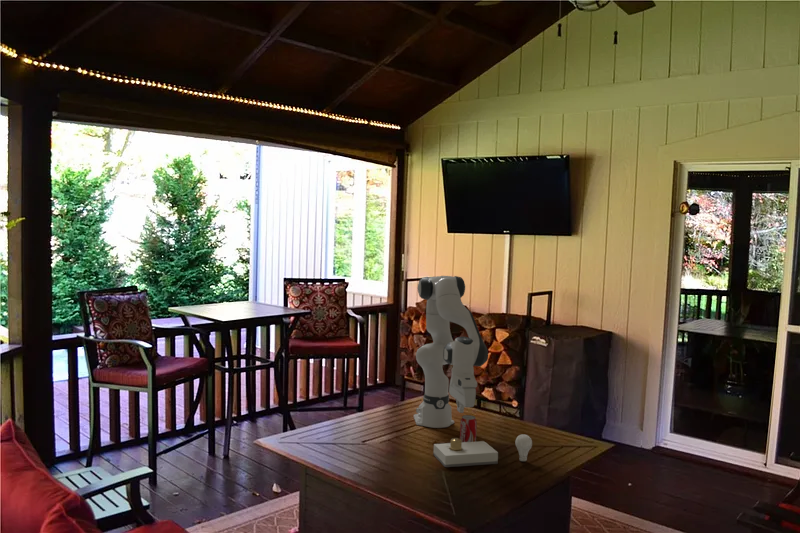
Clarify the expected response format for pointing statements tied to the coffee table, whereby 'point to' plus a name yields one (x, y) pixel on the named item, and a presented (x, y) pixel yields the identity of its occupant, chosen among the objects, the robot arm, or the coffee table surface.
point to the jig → (466, 454)
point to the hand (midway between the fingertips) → (460, 411)
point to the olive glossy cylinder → (456, 444)
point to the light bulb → (523, 446)
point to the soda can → (468, 428)
